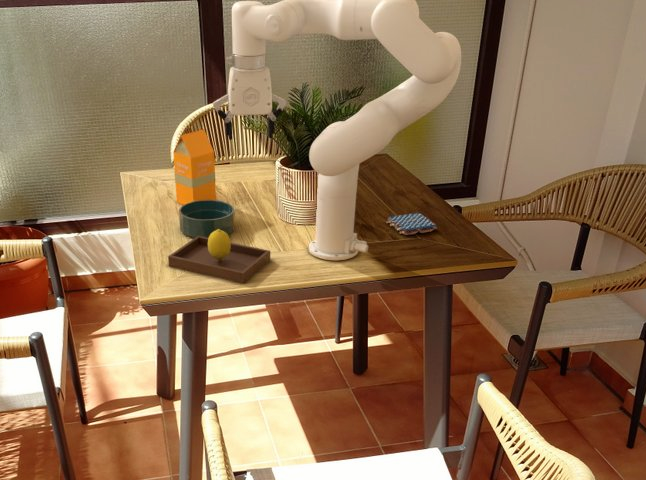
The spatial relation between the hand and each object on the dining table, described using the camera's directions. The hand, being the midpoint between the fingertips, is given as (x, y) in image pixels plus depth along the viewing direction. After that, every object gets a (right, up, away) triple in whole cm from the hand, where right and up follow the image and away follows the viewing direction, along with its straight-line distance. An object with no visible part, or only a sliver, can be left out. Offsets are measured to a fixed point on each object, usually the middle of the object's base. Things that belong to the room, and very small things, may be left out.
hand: (250, 137), depth 177 cm
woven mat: (+43, -17, +22) cm, 52 cm away
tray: (-7, -30, +2) cm, 31 cm away
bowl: (-12, -18, +20) cm, 30 cm away
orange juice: (-17, -7, +37) cm, 41 cm away
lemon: (-7, -30, +2) cm, 31 cm away
